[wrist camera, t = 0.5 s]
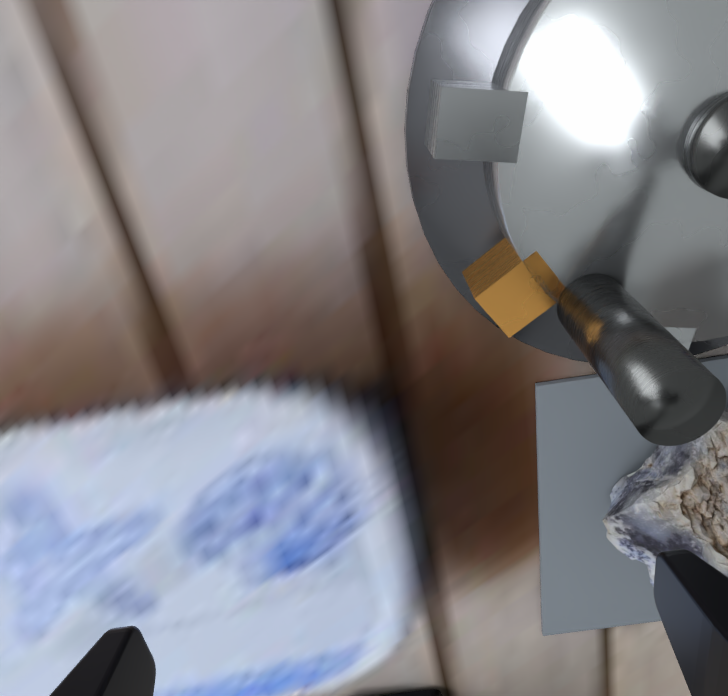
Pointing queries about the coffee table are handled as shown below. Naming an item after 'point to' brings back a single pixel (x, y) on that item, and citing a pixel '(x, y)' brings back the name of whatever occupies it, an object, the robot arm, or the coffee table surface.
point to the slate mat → (589, 505)
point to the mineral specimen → (675, 502)
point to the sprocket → (604, 194)
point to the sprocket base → (466, 178)
